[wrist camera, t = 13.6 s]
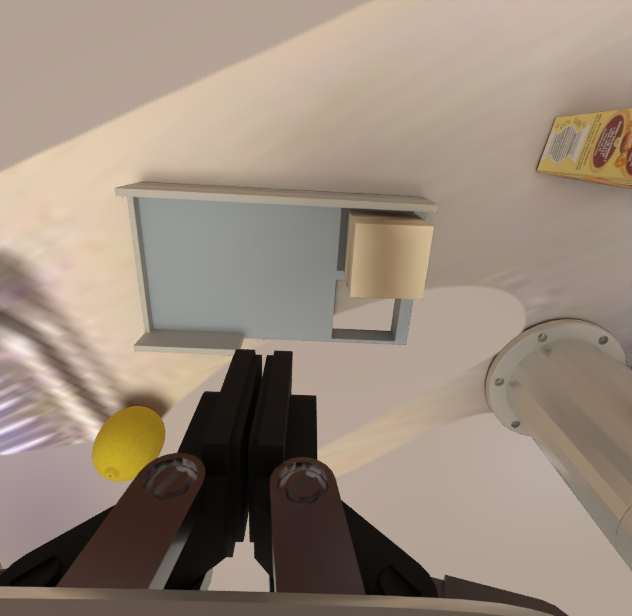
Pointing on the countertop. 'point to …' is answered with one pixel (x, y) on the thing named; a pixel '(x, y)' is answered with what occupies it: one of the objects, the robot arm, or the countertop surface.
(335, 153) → the countertop surface
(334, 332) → the pale blue tray
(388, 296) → the block
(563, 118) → the candy box
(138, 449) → the lemon
